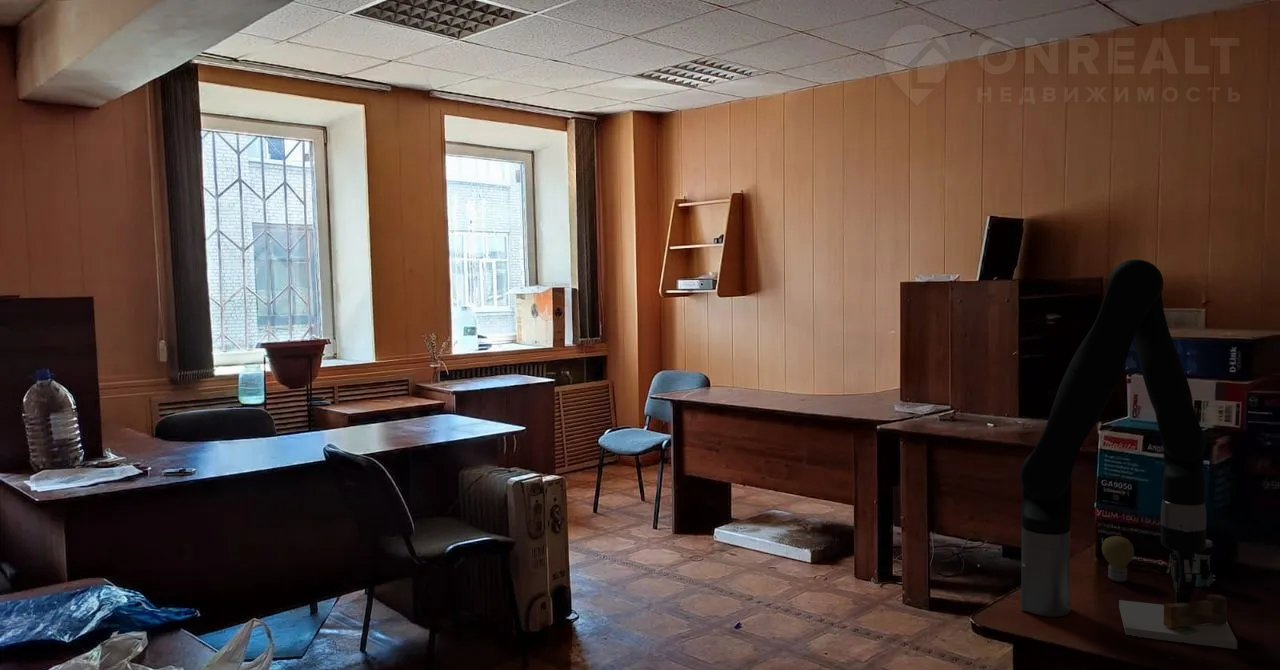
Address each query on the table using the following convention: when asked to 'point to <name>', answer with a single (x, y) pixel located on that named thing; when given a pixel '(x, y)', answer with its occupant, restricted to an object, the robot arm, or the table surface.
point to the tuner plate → (1151, 625)
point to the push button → (1204, 565)
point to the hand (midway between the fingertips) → (1182, 609)
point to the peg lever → (1196, 612)
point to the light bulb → (1117, 556)
